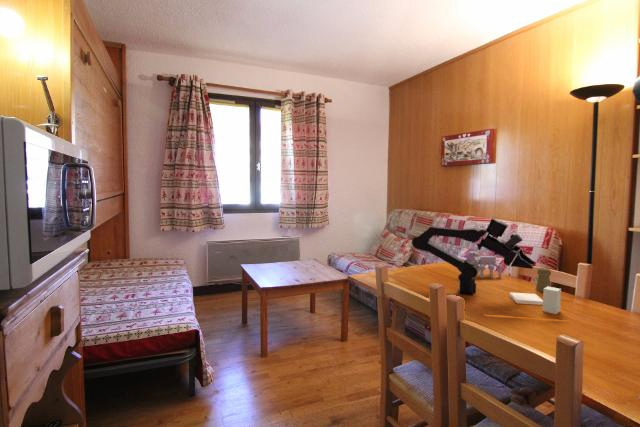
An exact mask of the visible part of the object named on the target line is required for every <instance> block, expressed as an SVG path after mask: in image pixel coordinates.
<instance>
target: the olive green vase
mask: <svg viewBox="0 0 640 427" xmlns="http://www.w3.org/2000/svg"><path fill="white" fill-rule="evenodd" d="M536 272H537V274H538V277H537V281H536V287H535V291H536V292H540V293H543V290H544V288H546V287H547V286H548V287H551V280H550V276H551V274H552V271H551V269H549V268H546V267H539V268H538V269H537V270H536Z"/></svg>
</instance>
